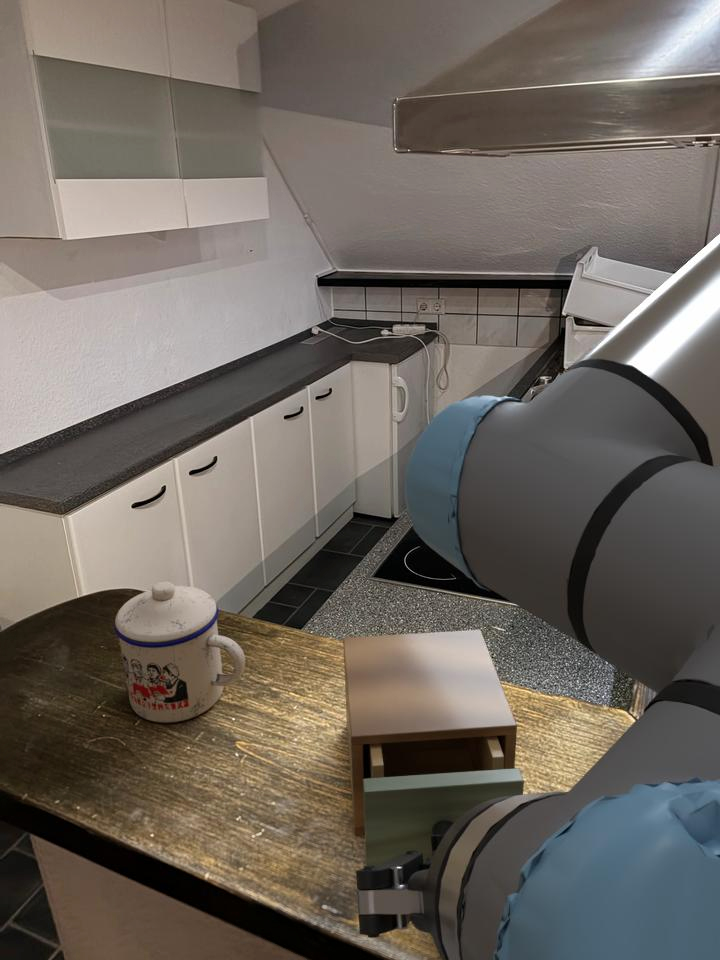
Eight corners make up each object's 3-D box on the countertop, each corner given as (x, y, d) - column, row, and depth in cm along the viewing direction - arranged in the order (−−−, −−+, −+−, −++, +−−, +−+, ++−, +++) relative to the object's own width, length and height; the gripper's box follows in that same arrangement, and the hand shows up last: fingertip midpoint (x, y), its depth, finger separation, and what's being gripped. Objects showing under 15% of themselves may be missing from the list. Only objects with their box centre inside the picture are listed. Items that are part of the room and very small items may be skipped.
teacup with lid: (106, 714, 69) (86, 603, 65) (164, 657, 77) (149, 555, 73) (223, 743, 65) (209, 627, 61) (270, 681, 73) (261, 574, 69)
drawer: (523, 879, 51) (529, 794, 48) (368, 890, 50) (365, 806, 48) (483, 751, 62) (487, 676, 60) (356, 759, 62) (354, 685, 59)
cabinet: (511, 824, 56) (517, 725, 53) (354, 836, 56) (350, 736, 52) (477, 716, 68) (480, 629, 64) (346, 725, 67) (343, 637, 64)
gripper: (364, 1061, 25) (351, 940, 46) (757, 1025, 25) (562, 923, 47) (350, 808, 27) (343, 806, 49) (702, 782, 28) (542, 791, 50)
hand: (450, 863), depth 48 cm, fingers closed
